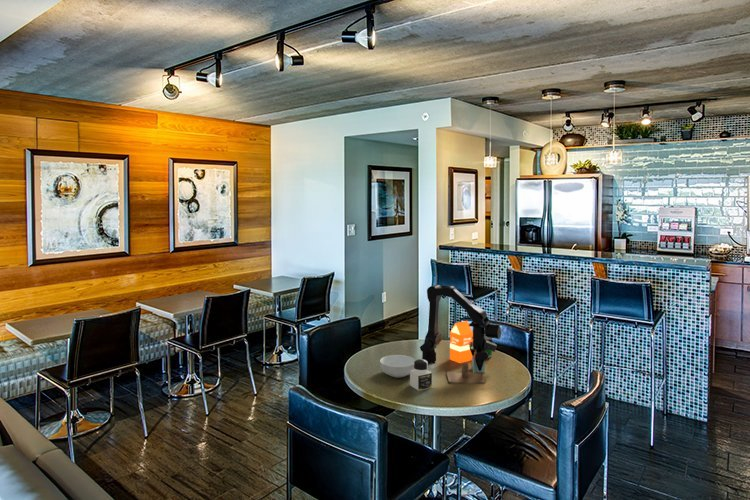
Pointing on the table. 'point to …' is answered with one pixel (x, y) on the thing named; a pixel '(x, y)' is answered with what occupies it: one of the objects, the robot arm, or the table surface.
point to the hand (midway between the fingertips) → (478, 367)
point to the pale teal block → (474, 366)
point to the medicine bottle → (420, 375)
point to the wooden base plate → (465, 376)
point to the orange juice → (460, 342)
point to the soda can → (487, 349)
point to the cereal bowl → (397, 365)
